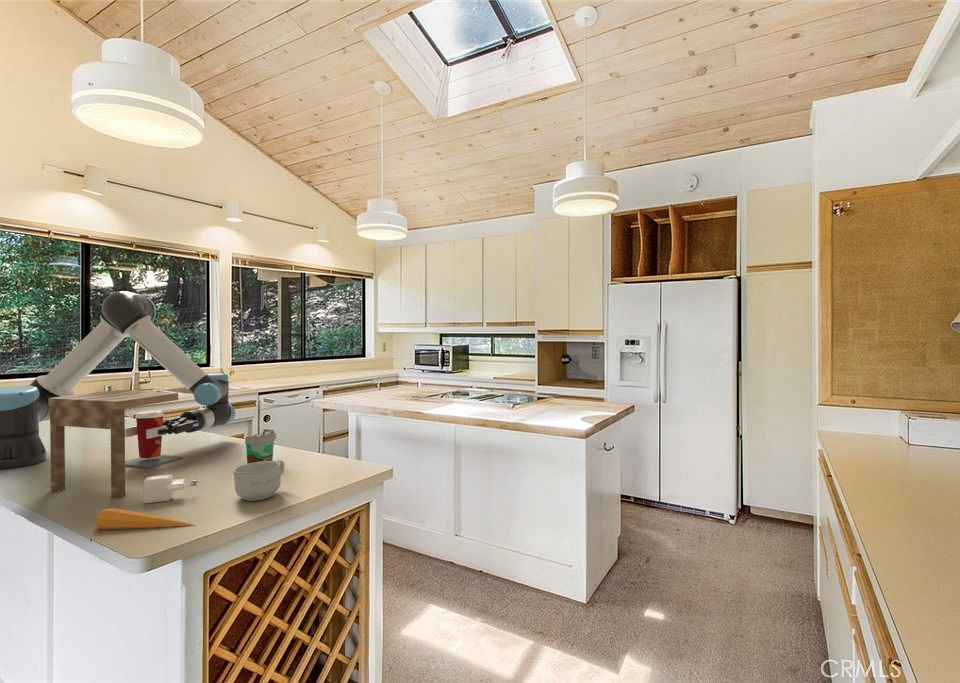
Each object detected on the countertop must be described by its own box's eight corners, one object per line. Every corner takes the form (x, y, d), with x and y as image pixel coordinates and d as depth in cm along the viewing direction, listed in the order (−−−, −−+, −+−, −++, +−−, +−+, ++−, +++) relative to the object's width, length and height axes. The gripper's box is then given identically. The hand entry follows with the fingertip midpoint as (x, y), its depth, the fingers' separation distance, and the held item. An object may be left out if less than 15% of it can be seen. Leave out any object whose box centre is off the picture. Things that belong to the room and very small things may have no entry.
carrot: (93, 534, 100) (89, 518, 98) (108, 518, 104) (104, 502, 102) (193, 541, 101) (190, 525, 100) (203, 525, 106) (201, 509, 104)
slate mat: (117, 465, 147) (117, 463, 147) (152, 455, 159) (152, 453, 159) (148, 468, 145) (148, 466, 145) (182, 458, 156) (182, 456, 156)
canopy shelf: (49, 491, 124) (48, 398, 123) (117, 471, 141) (116, 390, 141) (117, 498, 119) (116, 401, 118) (178, 477, 136) (178, 392, 136)
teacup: (250, 508, 113) (250, 474, 113) (224, 499, 119) (224, 467, 118) (300, 491, 125) (300, 460, 125) (274, 484, 130) (274, 455, 130)
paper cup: (167, 456, 152) (167, 412, 152) (138, 460, 146) (138, 414, 146) (160, 451, 157) (160, 409, 157) (132, 456, 152) (132, 411, 151)
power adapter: (198, 493, 123) (198, 470, 123) (196, 499, 119) (196, 475, 119) (146, 499, 118) (146, 475, 118) (142, 505, 114) (141, 481, 114)
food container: (265, 470, 143) (265, 437, 143) (244, 470, 143) (244, 437, 143) (283, 459, 155) (283, 428, 155) (264, 459, 155) (264, 428, 155)
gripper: (221, 432, 167) (163, 447, 145) (172, 429, 172) (109, 443, 149) (220, 410, 167) (163, 422, 145) (172, 408, 171) (109, 419, 149)
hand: (136, 433), depth 147 cm, fingers open, 8 cm apart
